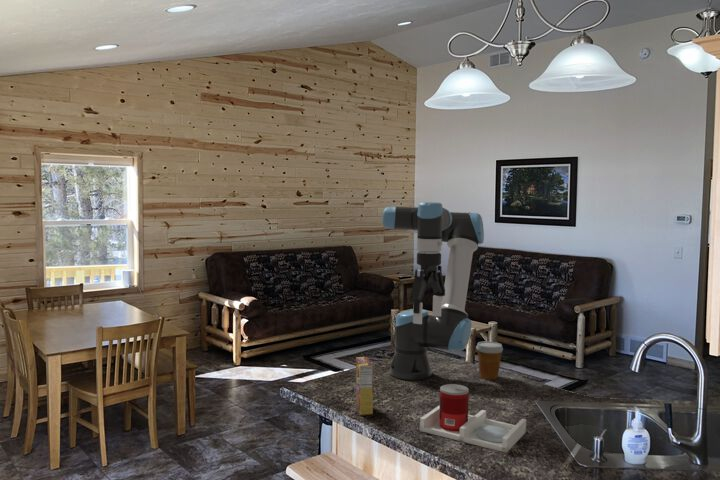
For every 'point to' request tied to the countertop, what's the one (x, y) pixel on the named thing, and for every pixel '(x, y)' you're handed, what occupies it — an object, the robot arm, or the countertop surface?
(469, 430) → the rack
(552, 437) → the countertop surface
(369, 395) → the candy box
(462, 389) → the canned food
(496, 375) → the disposable coffee cup
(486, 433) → the saucer
